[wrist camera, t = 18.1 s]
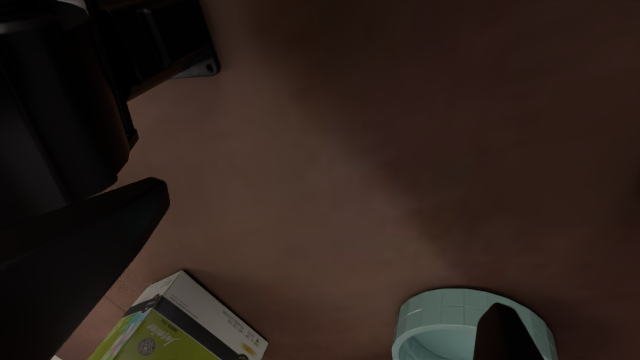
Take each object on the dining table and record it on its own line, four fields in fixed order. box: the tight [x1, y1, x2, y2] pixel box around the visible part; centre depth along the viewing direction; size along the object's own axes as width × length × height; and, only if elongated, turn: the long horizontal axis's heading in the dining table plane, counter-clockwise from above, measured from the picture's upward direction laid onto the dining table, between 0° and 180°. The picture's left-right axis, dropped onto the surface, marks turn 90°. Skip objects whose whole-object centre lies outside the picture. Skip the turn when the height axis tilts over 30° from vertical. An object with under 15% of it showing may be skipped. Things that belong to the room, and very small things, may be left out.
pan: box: [392, 289, 558, 360], centre depth 28 cm, size 12×12×4 cm
